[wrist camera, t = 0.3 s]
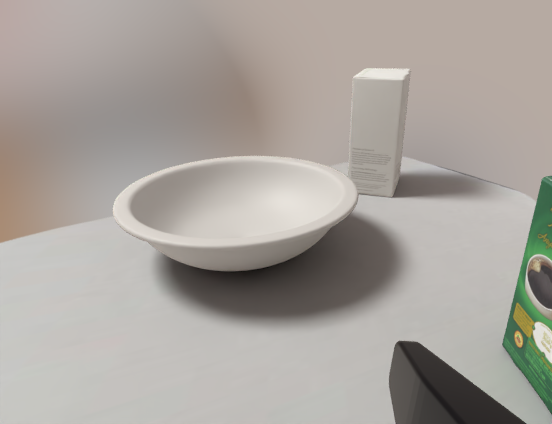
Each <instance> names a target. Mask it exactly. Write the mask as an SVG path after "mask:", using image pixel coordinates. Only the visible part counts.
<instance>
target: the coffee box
mask: <svg viewBox="0 0 552 424" xmlns="http://www.w3.org/2000/svg"><path fill="white" fill-rule="evenodd" d="M502 345H503V347H504V348H505V349H506V351H507V352H508V353H509V355H510V356H511V358H512V360H513V362H514V363H515V365H516V366H517V367H518V368H520V370H521V371H522V373H523V374H524V375H525V377H526V378H527V379H528V381H529V382H530V384H531V385H532V387H533V388H534V389H535V391H536V392H537V393H538V395H539V396H540V398H541V399H542V400H543V402H544V403H545V404H546V406H547V408H548V410H549V411H550V412H551V414H552V176H546V177H544V178H543V179H542V182H541V186H540V190H539V194H538V199H537V203H536V207H535V211H534V215H533V219H532V224H531V228H530V232H529V236H528V240H527V244H526V248H525V253H524V257H523V261H522V265H521V269H520V273H519V278H518V282H517V286H516V290H515V294H514V298H513V302H512V306H511V311H510V315H509V319H508V323H507V328H506V332H505V335H504V339H503V343H502Z"/></svg>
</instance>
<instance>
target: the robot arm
mask: <svg viewBox="0 0 552 424" xmlns="http://www.w3.org/2000/svg"><path fill="white" fill-rule="evenodd" d="M389 388H390V394H391V399H392V405H393V411H394V417H395V422H396V424H526V423H525V422H524V421H522V420H521V419H520V418H518V417H517V416H516V415H514V414H513V413H512V412H510V411H509V410H508V409H506V408H505V407H504V406H502V405H501V404H500V403H498V402H497V401H496V400H494V399H493V398H492V397H490V396H489V395H488V394H486V393H485V392H484V391H482V390H481V389H480V388H478V387H477V386H476V385H474V384H473V383H472V382H470V381H469V380H468V379H466V378H465V377H464V376H463V375H461V374H460V373H459V372H457V371H456V370H455V369H453V368H452V367H451V366H449V365H448V364H447V363H445V362H444V361H443V360H441V359H440V358H439V357H437V356H436V355H435V354H433V353H432V352H431V351H429V350H428V349H427V348H425V347H424V346H423V345H421V344H420V343H418V342H412V341H398V342H397V343H396V345H395V347H394V353H393V358H392V364H391V369H390V375H389Z"/></svg>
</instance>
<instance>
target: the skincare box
mask: <svg viewBox="0 0 552 424" xmlns="http://www.w3.org/2000/svg"><path fill="white" fill-rule="evenodd" d="M410 72H411V71H410V69H379V68H376V69H375V68H368V69H364V70H363V71H361V72H360V73H358V74H357V75H355V76H354V77H353V88H352V108H351V126H350V145H349V164H348V177H349V178H350V179H351V180H352V181H353V182H354V183H355V185H356V187H357V190H358V194H366V195H375V196H383V197H393V194H394V192H395V189H396V186H397V184H398V181H399V178H400V166H401V158H402V148H403V138H404V130H405V120H406V111H407V101H408V91H409V81H410Z"/></svg>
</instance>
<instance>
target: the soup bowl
mask: <svg viewBox="0 0 552 424" xmlns="http://www.w3.org/2000/svg"><path fill="white" fill-rule="evenodd" d="M357 201H358V190H357V187H356V185H355V183H354V182H353V181H352V180H351V179H350V178H349V177H348V176H346V175H345V174H343V173H342V172H340V171H338V170H336V169H333V168H331V167H328V166H325V165H322V164H318V163H315V162H311V161H306V160H301V159H294V158H285V157H272V156H238V157H224V158H216V159H208V160H201V161H196V162H191V163H186V164H182V165H178V166H174V167H171V168H167V169H164V170H161V171H158V172H156V173H153V174H151V175H149V176H146V177H144V178H142V179H140V180H138V181H136V182H134V183H133V184H131V185H130V186H128V187H127V188H126V189H125V190H123V191H122V192H121V193H120V194H119V195H118V197H117V198H116V200H115V202H114V206H113V216H114V218H115V220H116V222H117V224H118V225H119V226H120V227H121V228H122V229H123V230H124V231H126V232H127V233H129V234H131V235H132V236H134V237H136V238H139V239H141V240H144V241H147V242H148V243H149V244H150V245H152V246H153V247H154V248H155V249H157V250H158V251H160V252H161V253H163V254H164V255H166V256H168V257H170V258H172V259H174V260H176V261H178V262H181V263H184V264H186V265H190V266H193V267H197V268H201V269H207V270H215V271H246V270H254V269H260V268H264V267H269V266H272V265H276V264H279V263H282V262H284V261H287V260H289V259H291V258H293V257H295V256H297V255H299V254H301V253H303V252H304V251H306V250H307V249H309V248H310V247H312V246H313V245H314V244H316V243H317V242H318V241H319V240H320V239H321V238H322V237H323V236H324V235H325V234H326V233H327V232H328V231H329V230H330V228H331V227H333V226H335V225H336V224H338V223H339V222H341V221H342V220H344V219H345V218H346V217H347V216H348V215H349V214H350V213H351V212H352V211H353V210H354V208H355V206H356V204H357Z"/></svg>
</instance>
